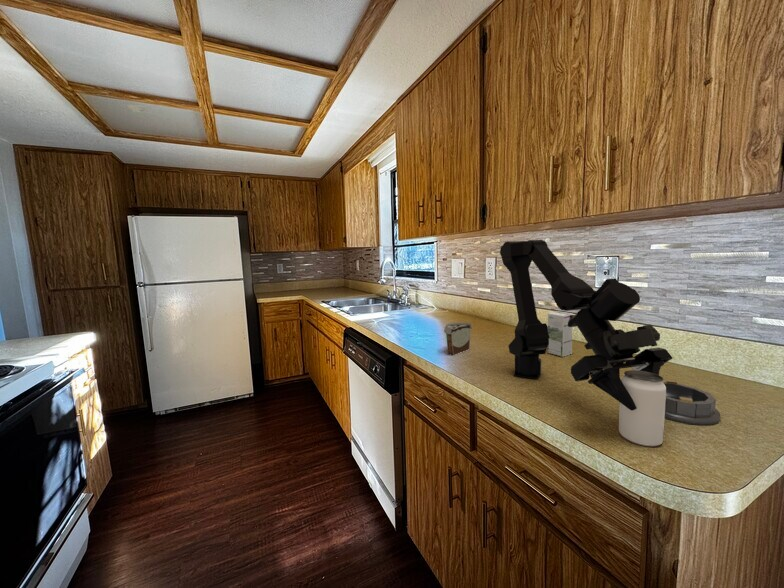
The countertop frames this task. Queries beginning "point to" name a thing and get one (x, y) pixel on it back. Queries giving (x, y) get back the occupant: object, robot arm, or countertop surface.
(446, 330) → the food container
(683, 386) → the collar
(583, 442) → the countertop surface
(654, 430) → the can
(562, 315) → the syrup box
